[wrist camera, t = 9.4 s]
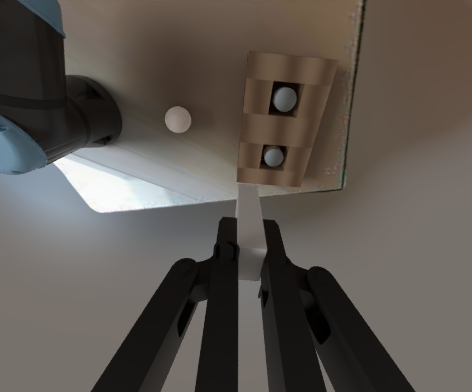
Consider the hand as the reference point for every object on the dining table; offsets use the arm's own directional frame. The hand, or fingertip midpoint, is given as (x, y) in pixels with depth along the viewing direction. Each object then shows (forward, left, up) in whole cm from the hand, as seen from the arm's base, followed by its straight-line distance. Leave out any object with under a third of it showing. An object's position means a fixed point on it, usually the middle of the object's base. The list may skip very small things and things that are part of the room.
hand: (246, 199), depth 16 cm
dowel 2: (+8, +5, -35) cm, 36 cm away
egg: (-14, -1, -35) cm, 37 cm away
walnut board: (+8, -1, -34) cm, 35 cm away
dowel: (+8, -7, -35) cm, 36 cm away
